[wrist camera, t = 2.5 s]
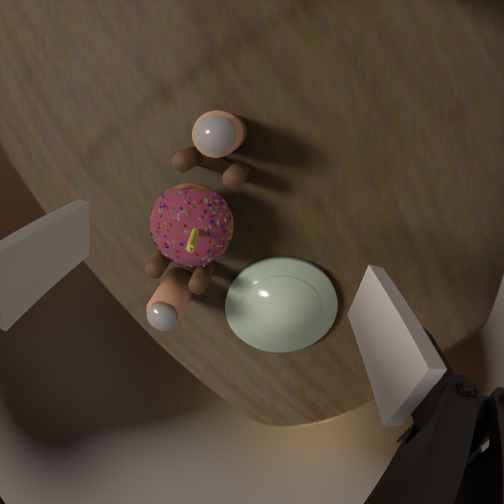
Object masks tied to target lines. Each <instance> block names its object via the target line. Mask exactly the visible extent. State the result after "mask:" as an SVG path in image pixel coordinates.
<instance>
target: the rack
mask: <svg viewBox="0 0 504 504" xmlns="http://www.w3.org/2000/svg"><path fill="white" fill-rule="evenodd" d="M198 164H199V165H202V166H205V167H208V168H211V169H214V170H217V171H220V172H223V173H224V174H223V177H222V179H223V183H224V185H225V186H226V187H227V188H229V189H238V188H240V187H241V186H242V185H243V183H244V181H245V180H246V178H247V175H248V172H249V170H250V168H248V166H247V165H246V164H245V163H244V162H241V161H237V162H234V163H233V162H230V161H227V160H224V159H221V158H213V157H208V156H206V155H204V154H202V153H201V152H200V151H199V150H198V149H197V148H196V147H191V148H186V149H185V150H181V151H178V152H176V153H175V154H174V156H173V158H172V165H173V167H174V168H175V169H176V170H177V171H179V172H185V171H188V170H189V169H191V168H193V167H195V166H196V165H198ZM170 262H173V261H171V260H170V259H169V258H167V257H166V256H165V255H163V254H162V252H161V251H160V250H159V249H158V251H157V252H156V254H155V255H154V256H153V257H152V259H151V260H150V261H149V262H148V264H147V265H146V267H145V270H146V273H147V274H148V275H149V276H150V277H151V278H154V279H157V278H160V277H161V276H162V274H163V273H164V271H165V270H166V268H167V267H168V265H169V264H170ZM174 263H175V262H174ZM215 265H216V264H214V262H213V261H212V262H211V263H209V264H206V265H205V266H204V267H203V265H201V266H193V267H190V266H186V265H185V266H186V267H187V268H190V269H193V270H195V271H194V273H193V275H192V277H191V279H190V281H189V283H188V287H189V289H190V291H191V292H192V293H194V294H198V295H199V294H203V293H204V292H205V291H206V289H207V286H208V284H209V281H210V278H211V276H212V273H213V271H214V268H215ZM182 266H184V265H182Z"/></svg>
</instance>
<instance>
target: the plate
mask: <svg viewBox="0 0 504 504" xmlns="http://www.w3.org/2000/svg"><path fill="white" fill-rule="evenodd" d="M337 306H338V303H337V296H336V292H335V289H334V286H333V284H332V282H331V280H330V279H329V277H328V276H327V275H326V274H325V272H324V271H323V270H321V269H320V268H319V267H318V266H316V265H315V264H313V263H311V262H309V261H307V260H305V259H301V258H298V257H292V256H272V257H267V258H264V259H261V260H258V261H256V262H254V263H251V264H250V265H248V266H247V267H245V268H244V269H243V270H242V271H240V272H239V274H238V275H237V276H236V277H235V278H234V280H233V281H232V283H231V285H230V287H229V290H228V293H227V297H226V302H225V313H226V318H227V320H228V323H229V325H230V327H231V329H232V330H233V331H234V333H235V334H236V335H237V336H238V337H239V338H240V339H242V340H243V341H244V342H246V343H247V344H249V345H251V346H253V347H255V348H258V349H261V350H264V351H269V352H291V351H296V350H300V349H303V348H305V347H308V346H310V345H312V344H313V343H315V342H316V341H318V340H319V339H320V338H322V337H323V336H324V335H325V334H326V333H327V332H328V330H329V329H330V327H331V326H332V324H333V322H334V320H335V317H336V314H337Z"/></svg>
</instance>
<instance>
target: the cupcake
mask: <svg viewBox="0 0 504 504" xmlns="http://www.w3.org/2000/svg"><path fill="white" fill-rule="evenodd" d="M149 223H150V230H151V235H152V237H153V239H154V245H157V247H158V248H159V250H160V251H161V252H162V254H163V255H165V256H166V257H167V258H169V259H170V260H171V261H173V262H175V263H176V264H179V265H184V266H185V265H186V266H190V267H193V266H201V265H203V267H204V266H205V265H206V264H209V263H211V262H212V261H213V260H215V259H216V258H217V257H219V256H220V255H221V254H222V253H224V252H225V250H226V249H227V247H228V245H229V242H230V240H231V238H232V235H233V227H234V219H233V215H232V213H231V211H230V209H229V207H228V205H227V203H226V201H225V200H224V199H223V197H222V196H221V195H220V194H218V193H217V192H215V191H214V190H212V189H211V188H209V187H208V186H206V185H202V184H197V183H192V182H187V183H182V184H179V185H177V186H175V187H173V188H170V189H168V190H166V191H165V192H164V193H162V194H161V196H160V197H159V198H158V200H157V201H156V203H155V204H154V206H153V209H152V213H151V217H150V222H149ZM186 266H185V267H186Z"/></svg>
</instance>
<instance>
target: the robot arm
mask: <svg viewBox="0 0 504 504" xmlns="http://www.w3.org/2000/svg"><path fill="white" fill-rule="evenodd" d="M89 208H90V202H87V201H82V200H76V201H73V202H71V203H69V204H67V205H65V206H63V207H61V208H59V209H57V210H55V211H53V212H51V213H49V214H47V215H45V216H43V217H42V218H40V219H38V220H36V221H34V222H32V223H30V224H29V225H27V226H25V227H23V228H21V229H20V230H18V231H16V232H14V233H13V234H11V235H9V236H7V237H6V238H4V239H2V240H1V241H0V328H1V329H3V330H5V331H7V330H8V329H9V328H10V327H11V326H12V325H13V324H14V323H15V321H17V320H18V319H19V318H20V317H21V316H22V315H23V314H24V313H25V312H26V311H27V310H28V309H29V308H30V307H31V306H32V305H33V304H34V303H35V302H36V301H37V300H38V299H39V298H40V297H42V296H43V295H44V294H45V293H46V292H47V291H48V290H49V289H50V288H51V287H53V285H55V284H56V283H57V282H58V281H59V280H60V279H61V278H62V277H64V276H65V275H66V274H67V273H68V272H69V271H71V270H72V269H73V268H74V267H75V266H77V265H78V264H79V263H80V262H81V261H82V260H84V259H85V258H86V257H87V256H88V255H89ZM348 317H349V320H350V323H351V325H352V328H353V331H354V334H355V337H356V340H357V343H358V346H359V349H360V352H361V355H362V358H363V361H364V364H365V367H366V370H367V374H368V377H369V380H370V383H371V386H372V390H373V393H374V396H375V400H376V403H377V406H378V410H379V413H380V417H381V421H382V424H383V426H401V425H402V424H403V423H404V422H405V421H406V419H408V418H409V416H410V415H411V416H412V418H413V421H414V423H413V424H412V425H411V427H410V428H409V429H408V430H407V431H406V432H405V433H404V434H403V435H402V436H401V437H400V438H399V439H398V440H397V442H398V443H399V442H400V441H401V440H402V439H403V440H402V442H401V444H400V446H399V448H398V449H397V451H396V453H395V455H394V457H393V458H392V460H391V462H390V464H389V465H388V467H387V469H386V470H385V472H384V474H383V475H382V477H381V478H380V480H379V482H378V483H377V485H376V486H375V488H374V489H373V491H372V492H371V494H370V495H369V497H368V498H367V500H366V501H365V503H364V504H504V388H502V387H498V388H496V389H495V390H494V391H493V392H492V394H491V395H490V396H489V397H487V396H483V395H480V394H479V391H478V389H477V387H476V385H475V384H474V383H473V382H472V381H471V380H469V379H468V378H466V377H464V376H462V375H455V374H454V372H453V370H452V369H451V367H450V365H449V363H448V362H447V360H446V358H445V357H444V355H443V353H441V350H440V348H439V347H438V346H437V343H436V342H435V340H434V338H433V337H432V335H431V334H430V333H429V332H428V331H427V330H426V329H425V328H424V327H422V326H421V324H420V323H419V321H418V320H417V318H416V316H415V315H414V313H413V312H412V310H411V309H410V307H409V306H408V304H407V303H406V301H405V300H404V298H403V297H402V295H401V294H400V292H399V291H398V289H397V288H396V286H395V285H394V283H393V282H392V280H391V279H390V278H389V276H388V275H387V273H386V272H385V270H384V269H383V268H380V267H376V266H372V265H368V268H367V270H366V273H365V275H364V277H363V280H362V282H361V285H360V287H359V289H358V292H357V294H356V296H355V299H354V301H353V303H352V306H351V308H350V310H349V312H348ZM488 440H489V447H488V448H487V449H486V450H485V451H483V452H482V449H481V447H482V445H484V444H485V443H486V442H487V441H488ZM0 504H5V503H4V501H3V500H2V498H1V497H0Z"/></svg>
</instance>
